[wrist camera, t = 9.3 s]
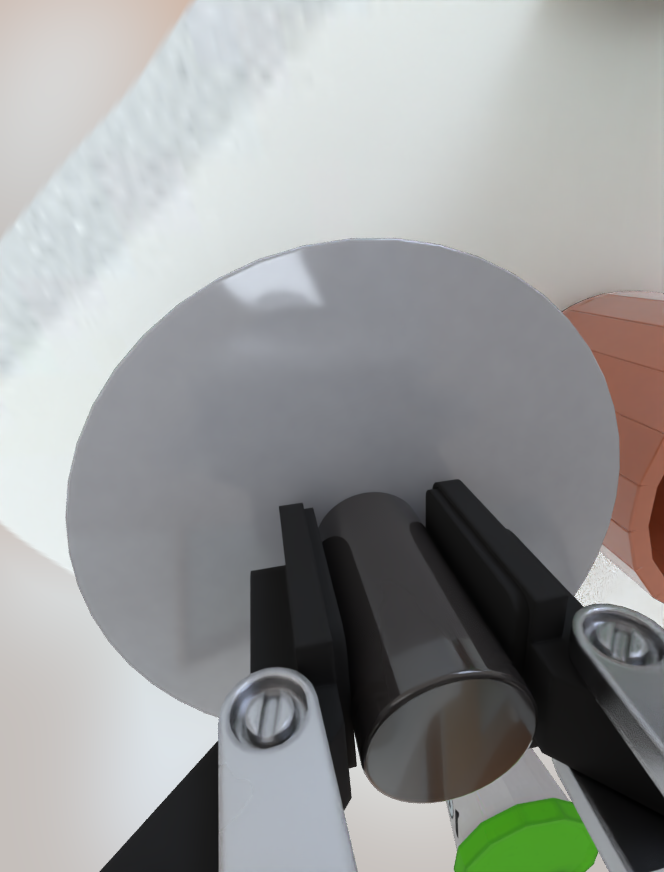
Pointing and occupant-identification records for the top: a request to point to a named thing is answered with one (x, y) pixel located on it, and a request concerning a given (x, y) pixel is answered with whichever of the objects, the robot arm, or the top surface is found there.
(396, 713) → the lid
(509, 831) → the cup
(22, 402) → the top surface
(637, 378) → the canister
